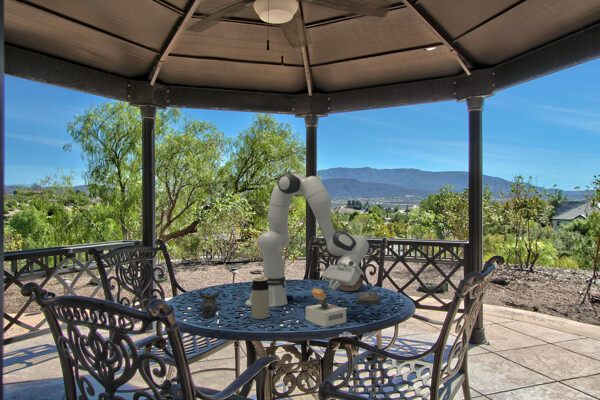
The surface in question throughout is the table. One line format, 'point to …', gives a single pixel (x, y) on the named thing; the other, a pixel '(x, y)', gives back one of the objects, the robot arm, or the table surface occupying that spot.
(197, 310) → the table surface
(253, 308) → the travel mug
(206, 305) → the laser sight
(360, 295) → the box
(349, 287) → the ceramic pitcher
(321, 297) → the lever
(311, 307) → the block
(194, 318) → the table surface
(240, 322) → the table surface
